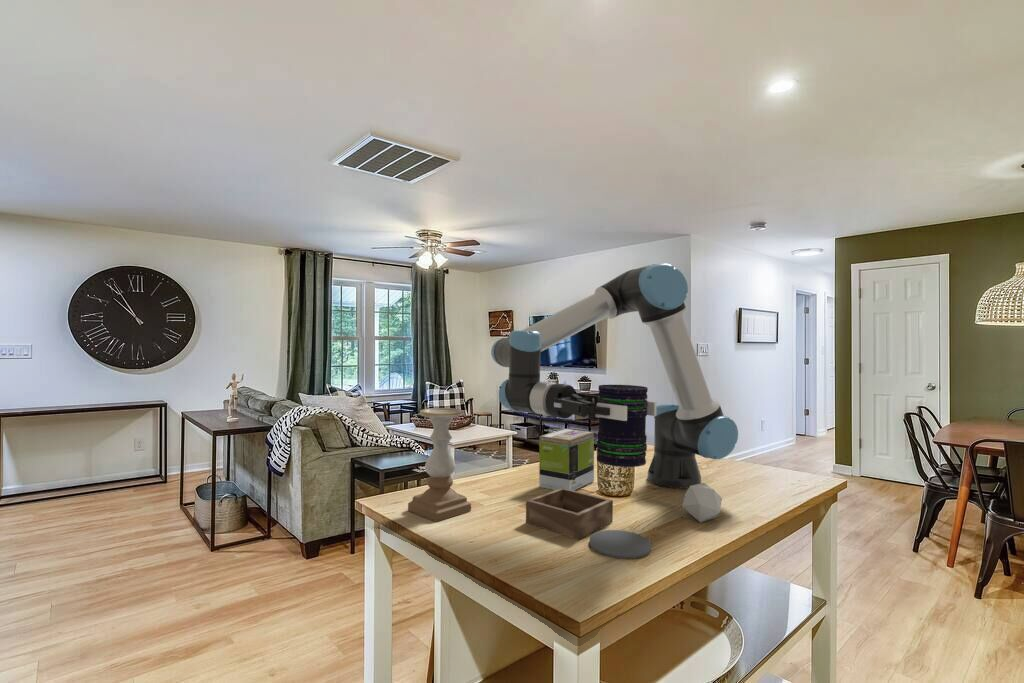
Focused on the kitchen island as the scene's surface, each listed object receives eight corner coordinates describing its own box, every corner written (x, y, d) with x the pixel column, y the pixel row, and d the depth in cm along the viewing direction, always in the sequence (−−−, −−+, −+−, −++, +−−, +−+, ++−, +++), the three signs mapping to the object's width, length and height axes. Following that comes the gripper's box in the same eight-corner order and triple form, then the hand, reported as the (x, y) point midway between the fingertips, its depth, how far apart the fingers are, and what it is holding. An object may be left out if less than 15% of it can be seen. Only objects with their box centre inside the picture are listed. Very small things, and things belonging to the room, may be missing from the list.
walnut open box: (561, 508, 126) (562, 487, 126) (612, 522, 117) (612, 500, 117) (525, 522, 115) (526, 500, 115) (578, 539, 106) (578, 515, 106)
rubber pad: (608, 530, 112) (609, 525, 112) (661, 545, 104) (661, 540, 104) (578, 546, 103) (578, 541, 103) (633, 564, 95) (633, 559, 95)
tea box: (564, 476, 156) (565, 427, 156) (594, 482, 150) (595, 431, 150) (537, 487, 144) (538, 434, 144) (569, 494, 138) (570, 439, 138)
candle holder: (406, 510, 122) (408, 410, 122) (442, 500, 130) (444, 406, 130) (435, 522, 115) (437, 415, 115) (472, 510, 123) (474, 411, 123)
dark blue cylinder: (655, 466, 99) (657, 389, 99) (607, 468, 97) (609, 389, 97) (633, 454, 109) (634, 384, 109) (589, 456, 107) (590, 384, 107)
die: (699, 512, 127) (677, 481, 126) (732, 502, 122) (708, 469, 121) (695, 534, 120) (671, 502, 119) (729, 524, 115) (704, 490, 115)
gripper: (585, 412, 124) (669, 424, 108) (519, 421, 108) (606, 437, 92) (585, 381, 124) (670, 389, 108) (519, 385, 108) (607, 395, 92)
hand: (641, 411), depth 100 cm, fingers closed on dark blue cylinder, 10 cm apart
